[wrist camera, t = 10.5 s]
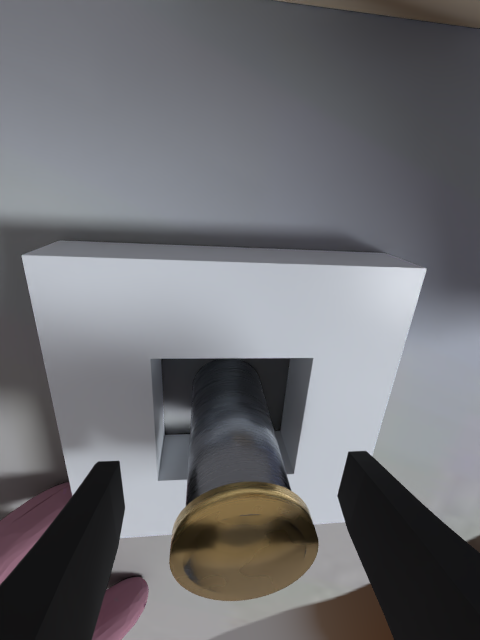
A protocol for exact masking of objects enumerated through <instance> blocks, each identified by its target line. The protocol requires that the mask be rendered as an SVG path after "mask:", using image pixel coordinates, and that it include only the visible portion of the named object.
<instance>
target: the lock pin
mask: <svg viewBox="0 0 480 640" xmlns="http://www.w3.org/2000/svg"><path fill="white" fill-rule="evenodd" d="M317 552H318V537H317V534H316V531H315V527H314V524H313V521H312V518H311V515H310V512H309V509H308V507H307V505H306V504H305V502H304V501H303V500H302V499H301V498H300V497H299V496H298V495H297V494H295V493H294V492H292V491H291V488H290V484H289V481H288V477H287V474H286V470H285V467H284V463H283V460H282V456H281V453H280V449H279V446H278V442H277V439H276V435H275V432H274V428H273V425H272V421H271V418H270V414H269V411H268V407H267V404H266V400H265V397H264V393H263V390H262V386H261V383H260V379H259V376H258V374H257V372H256V371H255V369H254V368H253V367H252V366H251V365H249V364H248V363H246V362H244V361H242V360H239V359H235V358H222V359H217V360H214V361H212V362H210V363H208V364H206V365H205V366H204V367H203V368H201V369H200V371H199V372H198V373H197V375H196V376H195V379H194V382H193V392H192V409H191V425H190V442H189V459H188V476H187V493H186V507H185V508H184V509H183V510H182V511H181V512H180V514H179V515H178V517H177V519H176V521H175V523H174V526H173V530H172V539H171V549H170V562H169V563H170V569H171V572H172V575H173V576H174V578H175V579H176V581H177V582H178V583H179V584H180V585H181V586H182V587H184V588H185V589H186V590H188V591H190V592H192V593H194V594H196V595H198V596H201V597H205V598H209V599H214V600H222V601H240V600H248V599H254V598H259V597H262V596H266V595H269V594H272V593H274V592H277V591H279V590H281V589H283V588H285V587H287V586H289V585H290V584H292V583H293V582H295V581H296V580H298V579H299V578H300V577H301V576H302V575H303V574H304V573H305V572H306V571H307V570H308V569H309V568H310V566H311V565H312V564H313V562H314V560H315V558H316V555H317Z"/></svg>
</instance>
